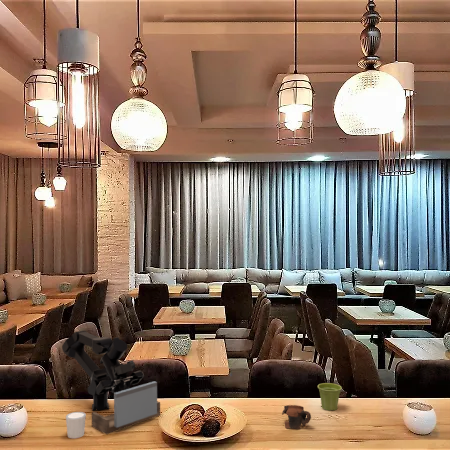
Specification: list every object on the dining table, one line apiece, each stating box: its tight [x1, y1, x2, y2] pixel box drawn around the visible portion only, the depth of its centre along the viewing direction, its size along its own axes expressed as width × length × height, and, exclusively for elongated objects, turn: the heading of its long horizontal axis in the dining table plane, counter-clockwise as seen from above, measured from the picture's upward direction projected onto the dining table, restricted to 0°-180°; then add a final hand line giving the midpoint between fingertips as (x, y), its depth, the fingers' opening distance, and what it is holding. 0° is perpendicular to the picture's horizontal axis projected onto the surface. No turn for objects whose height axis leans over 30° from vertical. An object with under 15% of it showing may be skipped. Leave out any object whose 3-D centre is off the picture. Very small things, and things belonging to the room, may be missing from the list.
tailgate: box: [113, 381, 158, 428], centre depth 183 cm, size 2×18×12 cm, turn 136°
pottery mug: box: [281, 404, 312, 430], centre depth 183 cm, size 12×10×8 cm
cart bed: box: [91, 400, 161, 435], centre depth 187 cm, size 10×24×5 cm, turn 135°
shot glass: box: [65, 411, 87, 439], centre depth 175 cm, size 7×7×7 cm
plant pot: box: [317, 382, 343, 411], centre depth 199 cm, size 9×9×9 cm
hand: (129, 401), depth 186 cm, fingers closed
